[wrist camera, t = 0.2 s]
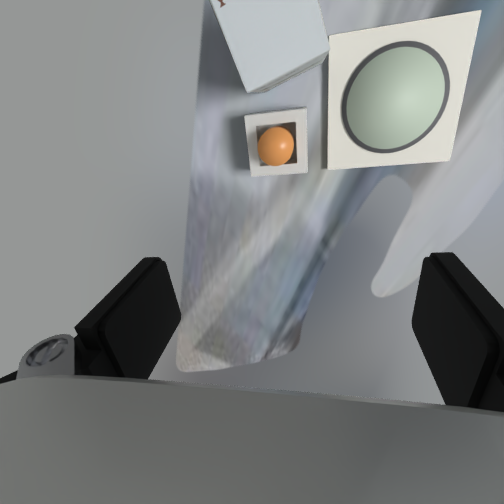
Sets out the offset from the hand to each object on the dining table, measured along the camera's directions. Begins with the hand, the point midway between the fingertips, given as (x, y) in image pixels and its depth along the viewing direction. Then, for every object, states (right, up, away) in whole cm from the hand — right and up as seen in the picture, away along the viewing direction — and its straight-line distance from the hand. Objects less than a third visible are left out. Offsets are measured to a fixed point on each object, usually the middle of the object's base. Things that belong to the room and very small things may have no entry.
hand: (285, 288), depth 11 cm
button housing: (+2, +16, +26) cm, 30 cm away
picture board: (+15, +19, +22) cm, 32 cm away
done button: (+2, +14, +24) cm, 28 cm away
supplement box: (+2, +25, +21) cm, 33 cm away
